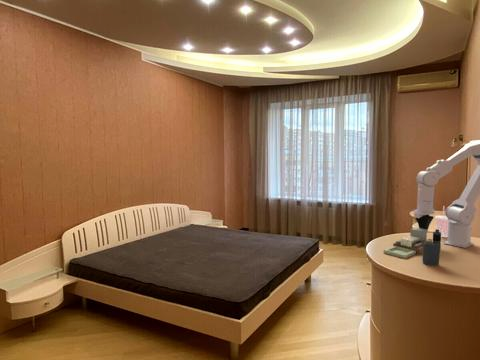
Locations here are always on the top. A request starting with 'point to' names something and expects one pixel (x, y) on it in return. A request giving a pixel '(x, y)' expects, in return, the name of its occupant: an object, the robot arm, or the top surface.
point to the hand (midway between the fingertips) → (423, 233)
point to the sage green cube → (419, 233)
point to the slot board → (416, 247)
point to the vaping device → (432, 249)
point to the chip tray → (399, 252)
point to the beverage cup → (442, 224)
